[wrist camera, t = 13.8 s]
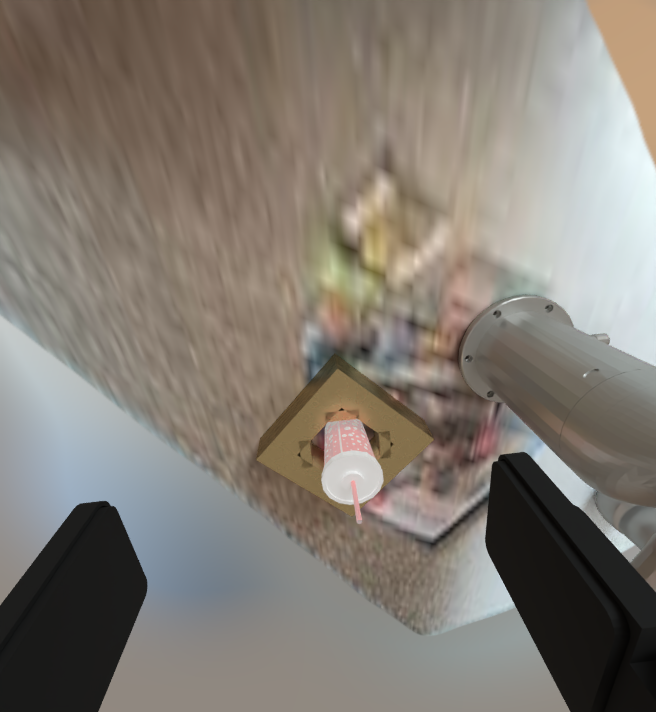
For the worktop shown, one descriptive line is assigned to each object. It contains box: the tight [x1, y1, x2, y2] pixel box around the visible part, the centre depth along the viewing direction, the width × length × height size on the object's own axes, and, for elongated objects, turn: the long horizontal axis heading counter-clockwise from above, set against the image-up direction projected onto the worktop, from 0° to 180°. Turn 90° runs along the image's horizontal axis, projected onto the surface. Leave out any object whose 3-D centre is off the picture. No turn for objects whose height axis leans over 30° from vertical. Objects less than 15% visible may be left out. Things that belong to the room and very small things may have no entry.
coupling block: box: [256, 354, 434, 516], centre depth 42 cm, size 14×14×4 cm
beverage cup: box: [321, 419, 384, 524], centre depth 38 cm, size 6×6×14 cm
